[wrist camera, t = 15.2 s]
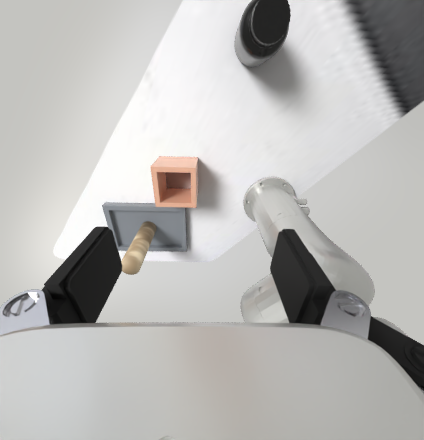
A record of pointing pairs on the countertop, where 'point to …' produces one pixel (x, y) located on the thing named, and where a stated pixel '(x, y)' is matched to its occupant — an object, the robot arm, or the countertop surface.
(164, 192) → the deep cup
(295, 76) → the countertop surface
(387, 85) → the countertop surface
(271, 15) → the supplement bottle
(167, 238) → the tray
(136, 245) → the dowel
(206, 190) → the countertop surface
